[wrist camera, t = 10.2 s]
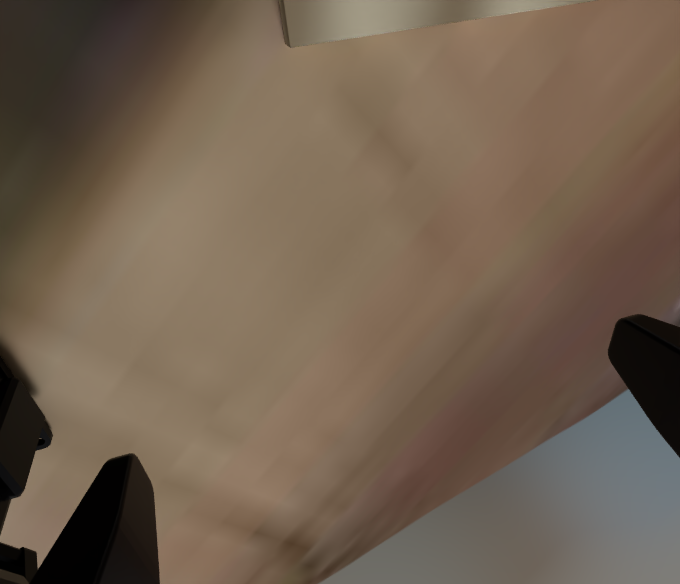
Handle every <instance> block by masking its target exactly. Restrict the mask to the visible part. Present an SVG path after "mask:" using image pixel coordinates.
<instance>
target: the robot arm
mask: <svg viewBox="0 0 680 584" xmlns="http://www.w3.org/2000/svg"><path fill="white" fill-rule="evenodd" d="M608 356H609V359H610V362H611V363H612V365H613V366H614V368H615V369H616V371H617V372H618V374H619V375H620V377H621V378H622V380H623V381H624V383H625V384H626V386H627V387H628V389H629V390H630V391H631V393H632V394H633V396H634V397H635V399H636V400H637V401H638V403H639V405H640V406H641V408H642V409H643V411H644V412H645V414H646V415H647V417H648V418H649V419H650V421H651V422H652V424H653V425H654V426H655V428H656V429H657V430H658V432H659V433H660V434H661V435H662V437H663V438H664V439H665V441H666V442H667V443H668V444H669V445H670V447H672V449H673V450H674V451H675V453H676V454H677V455H678V456H679V457H680V327H678V326H675V325H672V324H669V323H666V322H663V321H660V320H657V319H654V318H651V317H648V316H645V315H642V314H636V315H632V316H628V317H624V318H621V319H619V320H618V321H617V322H616V325H615V328H614V331H613V334H612V338H611V341H610V345H609V348H608ZM44 420H45V416H44V415H43V413H42V412H41V410H40V409H39V407H38V406H37V404H36V403H35V401H34V400H33V398H32V397H31V395H30V394H29V392H28V391H27V389H26V388H25V386H24V385H23V383H22V382H21V381H20V380H19V379H17V378H16V377H14V376H13V374H12V373H11V371H10V370H9V368H8V367H7V365H6V364H5V362H4V361H3V359H2V358H1V356H0V534H1V531H2V528H3V525H4V521H5V518H6V515H7V512H8V508H9V505H10V502H11V499H13V498H16V497H19V496H21V494H22V492H23V491H24V489H25V486H26V482H27V479H28V476H29V472H30V469H31V465H32V462H33V458H34V455H35V451H37V450H40V449H44V448H46V447H48V446H49V445H50V444H51V440H52V437H53V434H52V432H51V430H50V429H49V427H48V426H47V424H46V423H45V421H44ZM39 438H42V439H39ZM0 584H160V578H159V561H158V547H157V532H156V517H155V502H154V492H153V487H152V484H151V481H150V479H149V477H148V475H147V474H146V472H145V470H144V468H143V466H142V464H141V463H140V461H139V459H138V457H137V456H136V455H135V454H133V453H131V454H130V453H129V454H126V455H122V456H118V457H115V458H111V459H109V460H108V461H107V462H106V463H105V464H104V465H103V467H102V468H101V470H100V472H99V473H98V475H97V476H96V478H95V480H94V481H93V483H92V484H91V486H90V488H89V489H88V491H87V492H86V494H85V496H84V497H83V499H82V500H81V502H80V504H79V505H78V507H77V508H76V510H75V512H74V513H73V515H72V516H71V518H70V520H69V521H68V523H67V524H66V526H65V527H64V529H63V531H62V532H61V534H60V535H59V537H58V539H57V540H56V542H55V543H54V545H53V547H52V548H51V550H50V551H49V553H48V555H47V556H46V558H45V559H44V561H43V563H42V564H41V566H40V567H39V569H38V568H37V553H36V551H33V550H30V549H27V548H24V547H22V548H20V549H18V548H16V547H13V546H10V545H7V544H4V543H1V542H0Z"/></svg>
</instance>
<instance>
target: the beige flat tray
mask: <svg viewBox="0 0 680 584" xmlns="http://www.w3.org/2000/svg"><path fill="white" fill-rule="evenodd" d="M590 1H596V0H279V6H280V12H281V19H282V26H283V33H284V39H285V44H286V45H287V46H289V47H290V48H293V47H299V46H306V45H312V44H319V43H325V42H332V41H338V40H345V39H351V38H357V37H364V36H370V35H377V34H383V33H390V32H396V31H403V30H409V29H416V28H422V27H428V26H435V25H441V24H448V23H454V22H461V21H467V20H474V19H480V18H487V17H493V16H499V15H506V14H512V13H519V12H525V11H532V10H538V9H545V8H551V7H557V6H564V5H570V4H577V3H583V2H590Z"/></svg>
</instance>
